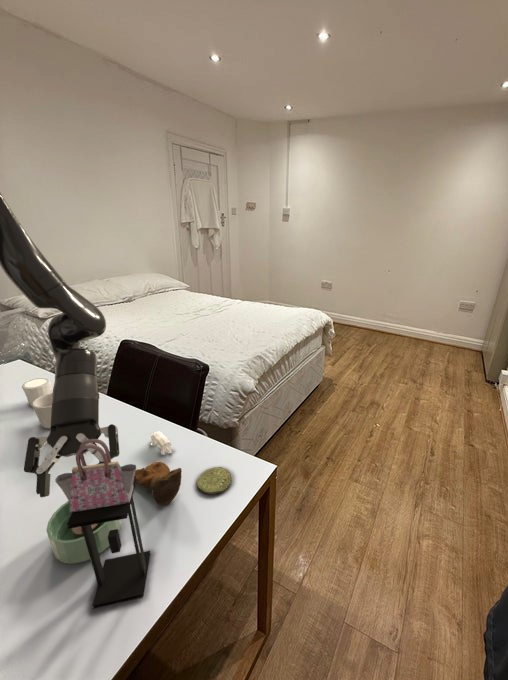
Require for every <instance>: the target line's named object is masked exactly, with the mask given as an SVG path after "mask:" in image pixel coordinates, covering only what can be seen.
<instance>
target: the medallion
mask: <svg viewBox="0 0 508 680" xmlns="http://www.w3.org/2000/svg"><path fill="white" fill-rule="evenodd" d="M232 481H233V476H232V474H231V472H230V471H229V470H228V469H227V468H224V467H220V466H219V467H218V466H216V467H212V468H208V469H206V470H205V471H203V472H202V473H201V474H200V475H199V477H198V478H197V481H196V485H197V489H198V490H199V491H200V492H202V493H205V494H208V495H214V494H221V493H223V492H224V491H227V490H228V489H229V488H230V486H231V484H232Z"/></svg>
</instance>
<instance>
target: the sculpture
mask: <svg viewBox="0 0 508 680" xmlns="http://www.w3.org/2000/svg"><path fill="white" fill-rule="evenodd" d="M182 472H183V471H182V468H181V467H178V468H176V469H172V470H170V467H169V466H168V465H167V464H166V463H165V462H163V461H154V462H152V463H150V464H148V465H147V466H145V467H142V468H136V471H135V476H136V479H137V481H136V485H138V486H140V487H141V488H143V489H145V490H148V491H152V499H153V501H154V502H155V503H156V504H157V505H160V506H167V505H169V504H170V503H171V502H172V501H173V500H174V499H175V498H176V496H177V495H178V492H179V491H180V487H181V484H182Z"/></svg>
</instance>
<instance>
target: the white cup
mask: <svg viewBox="0 0 508 680" xmlns="http://www.w3.org/2000/svg"><path fill="white" fill-rule="evenodd" d="M21 388H22V390H23V393H24V394H25V396H26V399H27V401H28V403H29V405H30V406H31V407H32V403H33V402H34V401H35V400H36V399H37V398H39V397H41V396H43V395H46V394H50V393H52V388H51V380H50V379H49V378H47V377H36V378H32V379H29V380H27V381H25V382H24V383H22V385H21Z"/></svg>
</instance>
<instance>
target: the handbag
mask: <svg viewBox="0 0 508 680" xmlns="http://www.w3.org/2000/svg"><path fill="white" fill-rule="evenodd" d="M88 443H96V444H97V445H98V446H96V445H86V444H88ZM85 445H86V446H85ZM99 445H100V446H101V447H100V446H99ZM85 449H96V450H97V451H99V452H100V453H101V455H102V458H103V461H104V463H102V464H97V463H95V464H87V462H86V459H85V456H84V455H85V454H83V450H85ZM75 463H76V466H74V467H72V468H71V472H64V473H61V474H59V475H57V476H56V478H55V479H54V482H55V483H56V485H57V486H58V487H59V488H60V490H61V491H62V493H63V494H64V496H65V497H66V499H67V501H69V502H70V512H72V514H71V516H70V519H69V521H68V523H67V525H69V527H68V529H70V528H75V527H81V528H82V531H83V535H84V538H85V542H86V545H87V549H88V552H89V556H90V559H89V560H90V563H91V565H92V570H93V573H94V576H95V580H96V583H97V587H96V590H95V594H94V597H93V600H92V604H91V607H92V609H93V610H94V609H99V608H102V607H106V606H111V605H115V604H119V603H124V602H128V601H131V600H136V599H140V598H144V595H145V589H146V583H147V576H148V572H149V565H150V559H151V551H150V550H147V551H144V546H143V542H142V536H141V530H140V526H139V519H138V516H137V511H136V505H135V500H134V499H135V498H134V492H135V489H136V485H137V483H136V481H137V479H136V476H135V471H136V470H137V465H136V464H133V463H129V464H125V465H122V466H121V464H120V463H119V461H112V459H111V457H110V449H109V446H107V444H106V443H105V442H104V441H103V440H101V439H99V438H98V439H90V440H87V441H84V442H83V443H82V444H81V445H80V448H79V450H78V451H77V453H76V454H75ZM120 519H121V520H125V519H128V521H129V525H130V530H131V534H132V539H133V544H134V549H135V553H132V554H127V555H122V556H117V557H113V558H107V559H104V563H102V560H101V556H100V554H99V552H98V549H97V545H96V541H95V538H94V534H93V530H92V526H91V525H92V524H98V523H103V522H109V521H115V520H120ZM108 541H109V550H110V553H111V554H117V553H120V552H121V550H122V549H121V548H122V541H121V537H120V531H119V532H118V529H115V530H110V531H109V534H108Z"/></svg>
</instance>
